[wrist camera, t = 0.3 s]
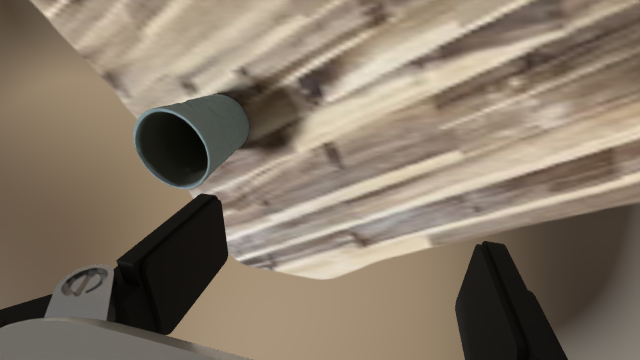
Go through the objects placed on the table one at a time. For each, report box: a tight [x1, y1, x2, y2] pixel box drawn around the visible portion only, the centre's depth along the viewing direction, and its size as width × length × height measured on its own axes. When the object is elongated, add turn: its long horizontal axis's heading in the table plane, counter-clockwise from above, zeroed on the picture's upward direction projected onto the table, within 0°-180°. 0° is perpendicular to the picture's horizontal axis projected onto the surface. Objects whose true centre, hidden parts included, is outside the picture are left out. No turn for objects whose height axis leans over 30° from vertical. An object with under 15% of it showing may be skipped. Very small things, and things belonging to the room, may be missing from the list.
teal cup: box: [134, 94, 250, 189], centre depth 39 cm, size 10×10×12 cm
